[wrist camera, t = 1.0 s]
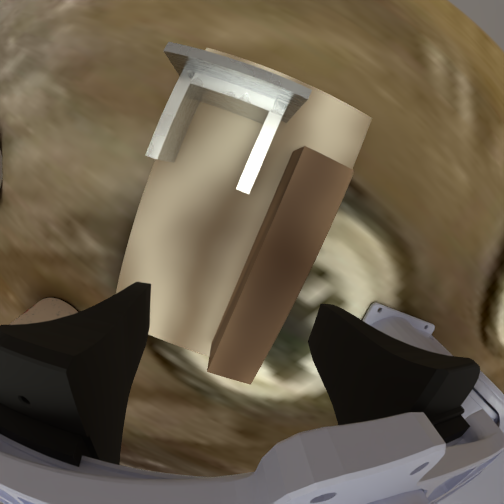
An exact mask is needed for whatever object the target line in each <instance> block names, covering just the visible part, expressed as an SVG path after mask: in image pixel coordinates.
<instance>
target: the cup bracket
mask: <svg viewBox="0 0 504 504" xmlns="http://www.w3.org/2000/svg"><path fill="white" fill-rule="evenodd" d="M164 52H165V54H166V55H167V57H168V58H169V60H170V62H171V63H172V65H173V66H174V68H175V69H176V71H177V72H178V74H179V76H180V77H179V79H178V81H177V83H176V85H175V87H174V89H173V92H172V94H171V96H170V98H169V100H168V102H167V104H166V107H165V109H164V111H163V113H162V116H161V118H160V120H159V123H158V125H157V127H156V130H155V132H154V135H153V137H152V140H151V142H150V145H149V147H148V150H147V153H146V155H145V156H148V157H151V158H154V159H157V160H163V161H168V162H175V159H176V157H177V154H178V152H179V149H180V147H181V144H182V142H183V140H184V137H185V135H186V132H187V130H188V128H189V125H190V123H191V121H192V119H193V116H194V114H195V112H196V110H197V107H198V105H199V103H200V101H201V102H204V103H207V104H210V105H213V106H216V107H218V108H221V109H224V110H227V111H230V112H232V113H235V114H238V115H241V116H243V117H246V118H248V119H251V120H254V121H256V122H259V123H261V124H263V127H262V129H261V131H260V133H259V136H258V138H257V140H256V143H255V145H254V147H253V150H252V152H251V154H250V157H249V159H248V161H247V164H246V166H245V168H244V171H243V173H242V176H241V178H240V180H239V183H238V185H237V188H236V189H237V190H240V191H242V192H245V193H247V194H249V193H250V191H251V188H252V186H253V184H254V181H255V179H256V176H257V174H258V172H259V169H260V167H261V165H262V162H263V160H264V158H265V155H266V153H267V151H268V148H269V146H270V144H271V141H272V139H273V137H274V134H275V132H276V130H277V127H278V125H279V123H280V121H283V122H285V123H287V122H288V121H289V120H290V119H291V117H292V116H293V115H294V114H295V113H296V112H297V111H298V110H299V109H300V108H301V106H302V105H303V104H304V103H305V102H306V101H307V100H308V98H309V96H310V94H311V91H312V90H311V89H309V88H307V87H305V86H303V85H300V84H298V83H296V82H293V81H291V80H289V79H286V78H284V77H282V76H279V75H277V74H274V73H272V72H269V71H266V70H264V69H261V68H258V67H256V66H253V65H250V64H247V63H244V62H241V61H238V60H235V59H232V58H229V57H226V56H222V55H219V54H216V53H212V52H209V51H205V50H201V49H197V48H193V47H189V46H185V45H181V44H176V43H172V42H168V44H167V45H166V47H165V49H164Z"/></svg>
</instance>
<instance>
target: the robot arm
mask: <svg viewBox="0 0 504 504" xmlns="http://www.w3.org/2000/svg"><path fill="white" fill-rule="evenodd" d="M150 300H151V284H150V283H143V282H135V283H133V284H131V285H130V286H128V287H126V288H125V289H123V290H122V291H120V292H118V293H117V294H115V295H113V296H112V297H110V298H108V299H106V300H104V301H102V302H100V303H98V304H96V305H95V306H92V307H90V308H88V309H86V310H83V311H80V312H78V313H75V314H72V315H69V316H65V317H62V318H58V319H54V320H50V321H44V322H38V323H31V324H16V325H1V326H0V502H2V503H4V504H504V394H503V393H502V392H501V391H500V390H499V389H498V388H497V387H496V386H495V385H494V384H493V383H492V382H491V381H490V380H489V379H488V378H487V377H486V376H485V375H484V374H483V373H482V372H481V371H480V366H479V365H478V364H477V363H476V362H475V361H474V360H472V359H470V358H463V357H455V356H453V355H452V354H451V353H450V352H449V351H448V350H447V349H446V348H445V347H444V346H443V345H442V344H440V343H439V342H438V341H437V340H436V339H435V338H434V337H433V336H432V335H431V334H432V333H433V331H434V329H435V326H434V325H433V324H432V323H429V322H426V321H424V320H421V319H418V318H416V317H413V316H411V315H408V314H405V313H403V312H400V311H398V310H395V309H392V308H390V307H387V306H385V305H382V304H379V303H376V302H375V303H373V304H371V306H370V308H369V309H368V311H367V313H366V315H365V316H364V318H363V320H360V319H359V318H357V317H355V316H354V315H352V314H350V313H349V312H347V311H345V310H343V309H342V308H340V307H337V306H335V305H331V304H321V305H320V308H319V311H318V314H317V317H316V320H315V323H314V326H313V329H312V332H311V335H310V338H309V340H308V343H309V347H310V352H311V355H312V358H313V361H314V364H315V366H316V368H317V370H318V373H319V375H320V377H321V379H322V381H323V384H324V386H325V388H326V390H327V392H328V395H329V397H330V399H331V402H332V404H333V408H334V411H335V414H336V418H337V421H338V425H337V426H329V427H322V428H318V429H314V430H309V431H305V432H300V433H297V434H295V435H293V436H291V437H289V438H287V439H285V440H283V441H281V442H278V443H277V444H276V445H275V446H274V447H273V448H272V449H271V450H270V451H269V452H268V453H267V454H266V455H265V456H264V457H263V458H262V459H261V461H260V463H259V465H258V467H257V469H256V471H255V472H250V473H243V474H236V475H228V476H219V477H200V476H187V475H177V474H168V473H160V472H154V471H147V470H142V469H136V468H131V467H126V466H121V465H119V462H120V451H121V442H122V433H123V426H124V420H125V413H126V408H127V402H128V397H129V393H130V389H131V385H132V383H133V380H134V377H135V374H136V371H137V368H138V365H139V363H140V360H141V357H142V354H143V351H144V348H145V346H146V341H147V337H148V332H149V327H150ZM379 308H380V310H379V311H378V309H379Z"/></svg>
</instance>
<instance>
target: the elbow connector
mask: <svg viewBox="0 0 504 504" xmlns="http://www.w3.org/2000/svg"><path fill="white" fill-rule="evenodd" d="M1 183H2V154H1V150H0V187H1Z"/></svg>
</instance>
